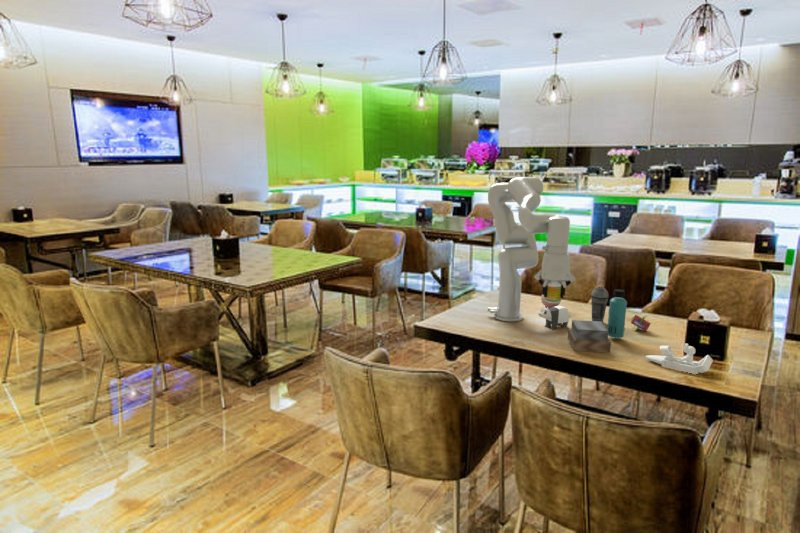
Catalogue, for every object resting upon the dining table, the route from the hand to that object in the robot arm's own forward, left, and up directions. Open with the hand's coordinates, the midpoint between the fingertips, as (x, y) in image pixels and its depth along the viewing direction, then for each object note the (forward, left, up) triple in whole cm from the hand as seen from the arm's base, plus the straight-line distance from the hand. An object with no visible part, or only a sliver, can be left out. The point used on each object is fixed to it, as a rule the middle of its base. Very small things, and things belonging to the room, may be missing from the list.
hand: (553, 296), depth 198 cm
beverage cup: (+24, +30, -19) cm, 43 cm away
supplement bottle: (0, 0, -2) cm, 2 cm away
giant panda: (+4, +20, -19) cm, 28 cm away
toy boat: (+40, -17, -19) cm, 47 cm away
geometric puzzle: (+39, +21, -19) cm, 48 cm away
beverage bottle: (+26, +9, -19) cm, 33 cm away
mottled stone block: (+14, 0, -19) cm, 23 cm away
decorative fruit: (+6, +46, -19) cm, 50 cm away
